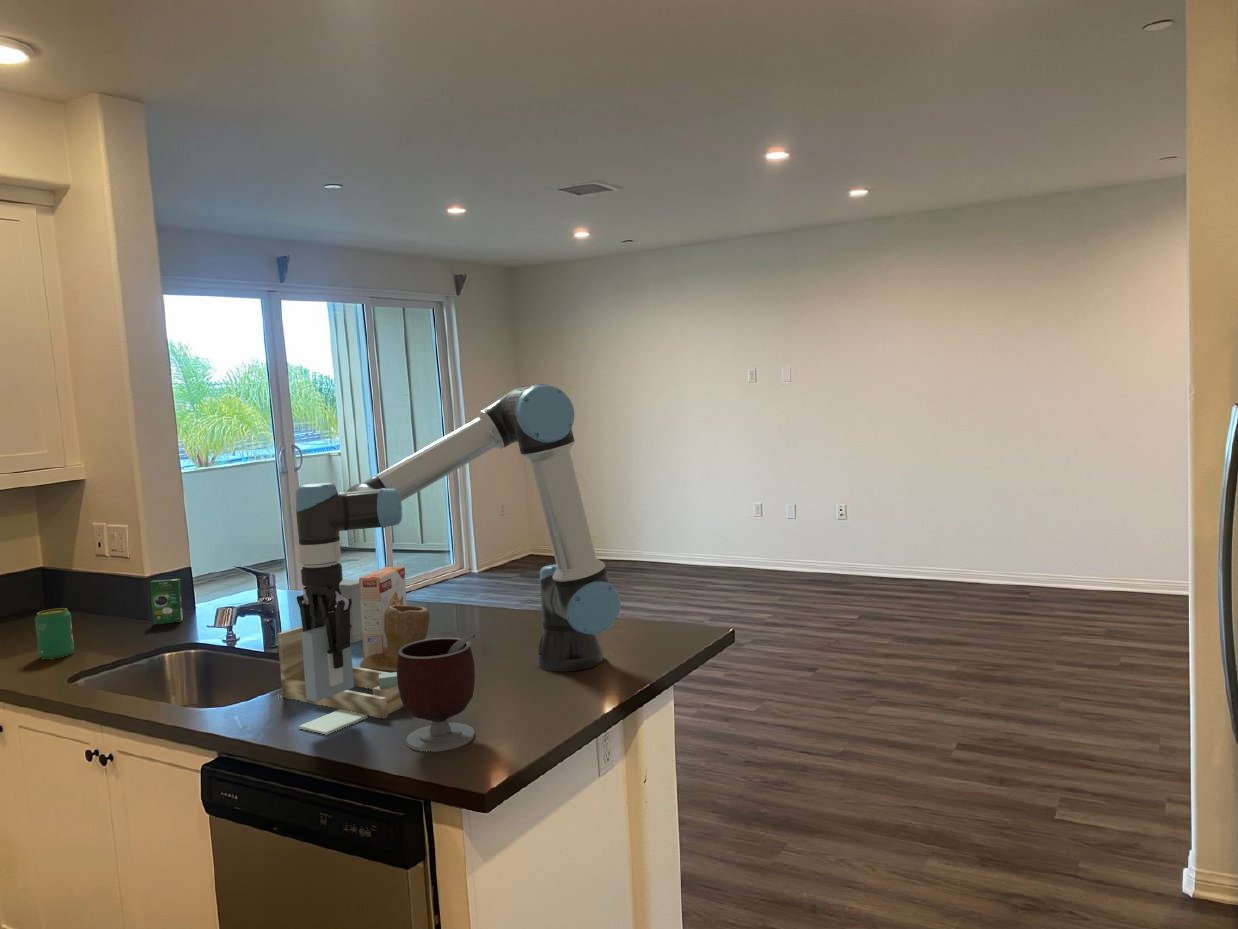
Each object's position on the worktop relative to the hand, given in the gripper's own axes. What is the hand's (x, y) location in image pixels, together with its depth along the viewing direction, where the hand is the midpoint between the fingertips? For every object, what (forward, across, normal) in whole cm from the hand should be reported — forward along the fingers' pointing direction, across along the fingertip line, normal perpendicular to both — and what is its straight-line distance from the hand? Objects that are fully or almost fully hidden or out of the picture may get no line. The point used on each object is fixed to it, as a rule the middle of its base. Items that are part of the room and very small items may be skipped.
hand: (330, 682), depth 175 cm
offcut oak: (+9, -3, -13) cm, 16 cm away
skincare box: (+8, +47, -45) cm, 65 cm away
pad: (+8, 0, 0) cm, 8 cm away
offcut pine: (+6, -4, -12) cm, 14 cm away
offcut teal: (+4, -3, -13) cm, 14 cm away
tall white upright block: (+2, 0, 0) cm, 2 cm away
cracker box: (+8, +26, -39) cm, 47 cm away
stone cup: (+8, +14, -32) cm, 36 cm away
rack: (+8, +8, -13) cm, 17 cm away
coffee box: (+9, +117, -37) cm, 123 cm away
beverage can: (+9, +112, -3) cm, 112 cm away
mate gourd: (+8, -26, -4) cm, 28 cm away
